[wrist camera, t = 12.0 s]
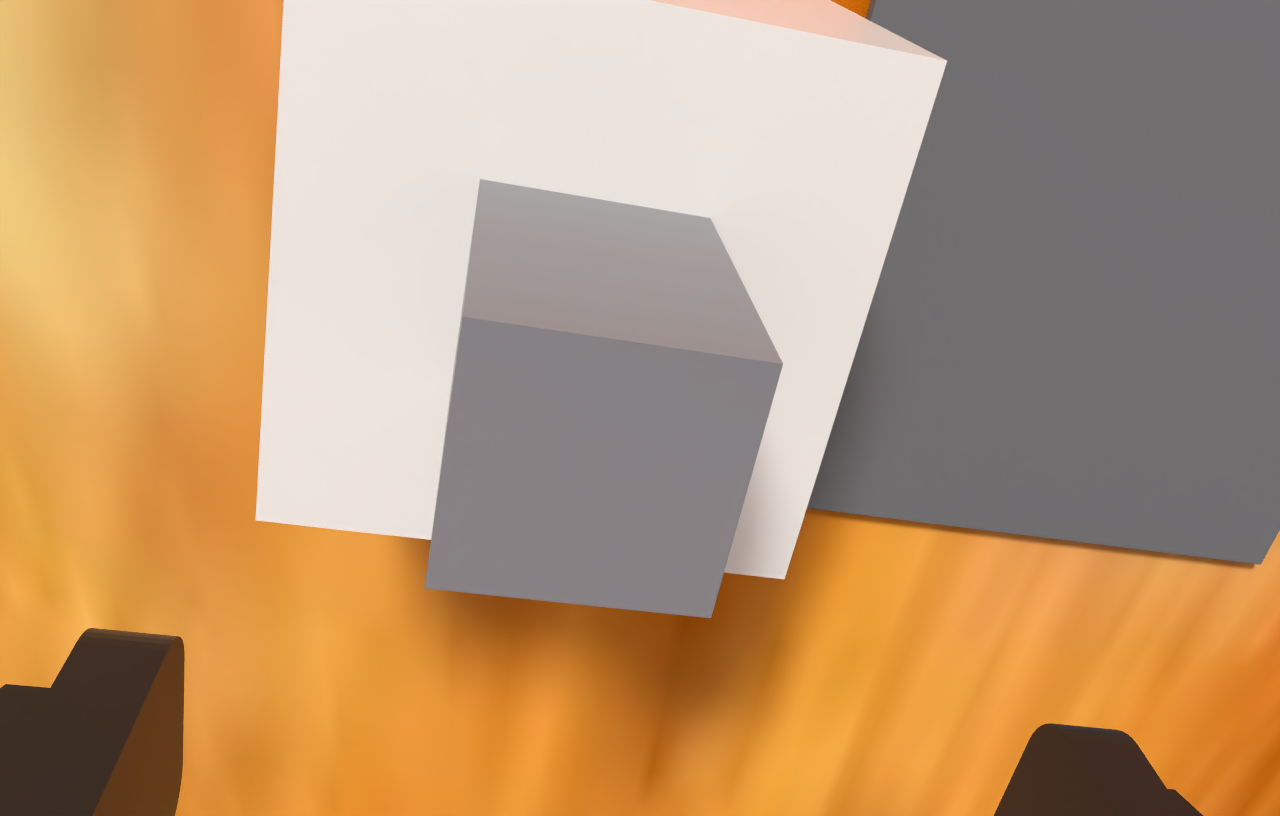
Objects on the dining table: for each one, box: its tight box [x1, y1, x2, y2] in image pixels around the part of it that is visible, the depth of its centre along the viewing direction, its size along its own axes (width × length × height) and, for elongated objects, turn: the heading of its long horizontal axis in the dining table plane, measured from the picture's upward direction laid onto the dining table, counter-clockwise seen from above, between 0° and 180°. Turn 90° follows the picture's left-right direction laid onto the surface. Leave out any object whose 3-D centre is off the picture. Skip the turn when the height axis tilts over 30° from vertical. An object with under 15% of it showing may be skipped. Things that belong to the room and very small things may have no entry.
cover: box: [256, 0, 947, 618], centre depth 21 cm, size 11×11×16 cm
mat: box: [807, 0, 1280, 565], centre depth 31 cm, size 18×18×1 cm
